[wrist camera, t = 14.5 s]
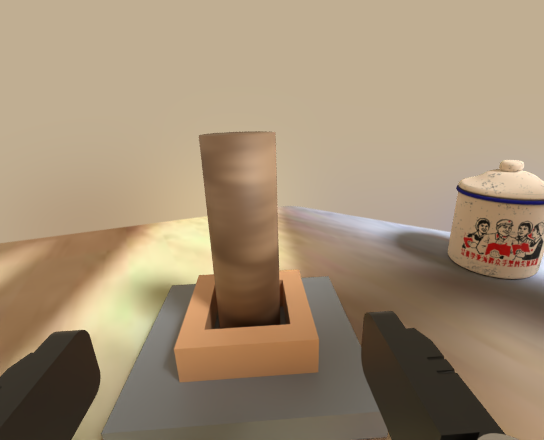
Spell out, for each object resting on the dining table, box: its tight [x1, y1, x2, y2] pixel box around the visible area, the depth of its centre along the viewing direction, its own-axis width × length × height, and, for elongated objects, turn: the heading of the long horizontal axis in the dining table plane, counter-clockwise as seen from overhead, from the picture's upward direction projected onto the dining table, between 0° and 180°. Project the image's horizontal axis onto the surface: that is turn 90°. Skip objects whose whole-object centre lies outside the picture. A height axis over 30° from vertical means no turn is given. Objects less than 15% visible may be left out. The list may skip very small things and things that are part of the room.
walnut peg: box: [199, 132, 281, 329], centre depth 20 cm, size 4×4×14 cm
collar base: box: [101, 270, 388, 440], centre depth 22 cm, size 15×14×4 cm
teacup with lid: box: [448, 160, 544, 279], centre depth 32 cm, size 12×9×12 cm
